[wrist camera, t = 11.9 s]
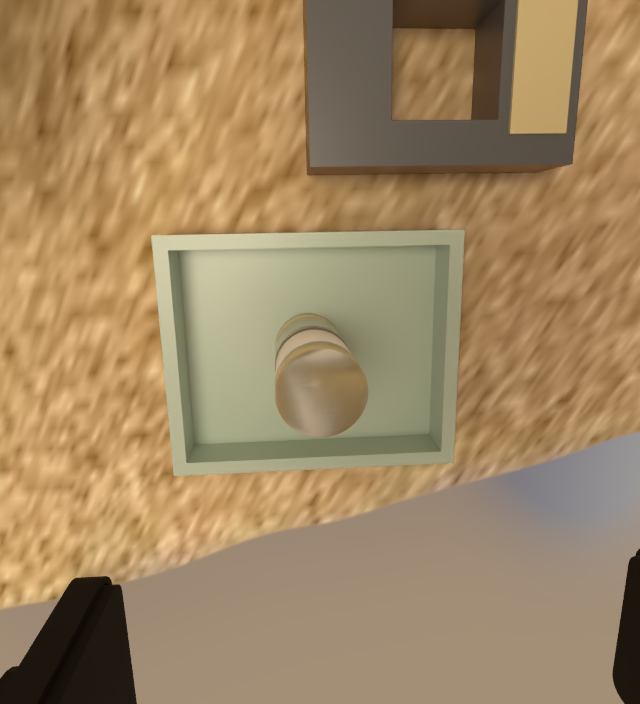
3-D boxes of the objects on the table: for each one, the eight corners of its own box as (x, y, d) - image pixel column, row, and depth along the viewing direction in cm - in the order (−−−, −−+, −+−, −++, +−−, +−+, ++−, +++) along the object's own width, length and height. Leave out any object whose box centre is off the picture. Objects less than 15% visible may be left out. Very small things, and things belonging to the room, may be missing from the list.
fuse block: (550, -15, 28) (595, -56, 24) (536, 172, 31) (574, 163, 27) (302, -18, 28) (305, -61, 24) (306, 175, 30) (310, 166, 26)
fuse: (338, 310, 31) (365, 343, 22) (342, 373, 32) (370, 432, 22) (272, 316, 31) (270, 352, 21) (278, 379, 32) (279, 442, 22)
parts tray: (445, 229, 31) (464, 229, 28) (437, 440, 35) (453, 463, 31) (166, 234, 30) (151, 235, 27) (185, 451, 34) (173, 476, 30)
